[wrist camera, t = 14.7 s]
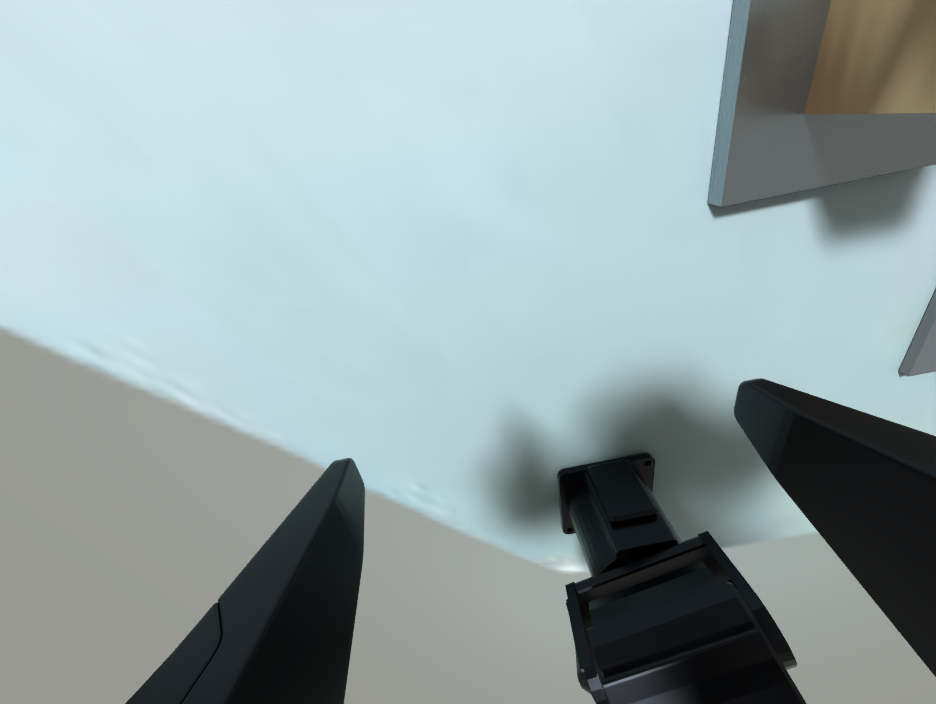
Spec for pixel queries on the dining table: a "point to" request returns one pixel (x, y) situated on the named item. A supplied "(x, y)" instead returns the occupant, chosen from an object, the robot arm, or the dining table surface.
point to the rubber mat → (922, 345)
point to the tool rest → (797, 113)
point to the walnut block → (876, 58)
